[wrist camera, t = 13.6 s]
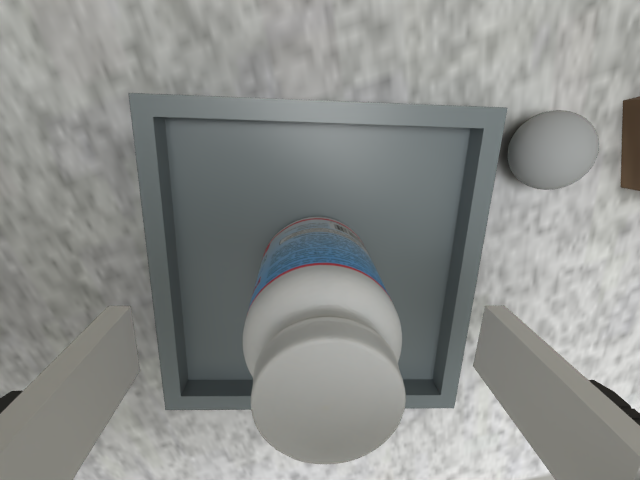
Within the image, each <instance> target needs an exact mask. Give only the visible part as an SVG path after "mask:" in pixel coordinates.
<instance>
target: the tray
mask: <svg viewBox="0 0 640 480" xmlns="http://www.w3.org/2000/svg"><path fill="white" fill-rule="evenodd" d="M129 102H130V110H131V119H132V127H133V136H134V145H135V153H136V162H137V170H138V179H139V187H140V196H141V204H142V213H143V222H144V230H145V239H146V247H147V256H148V264H149V273H150V282H151V290H152V299H153V307H154V316H155V324H156V333H157V342H158V350H159V359H160V367H161V376H162V384H163V393H164V402H165V410H246V409H251V393H252V387H253V377H252V375H251V373H250V372H249V369H248V367H247V364H246V361H245V357H244V353H243V330H244V325H245V320H246V317H247V313H248V309H249V306H250V302H251V297H252V294H253V291H254V288H255V284H256V280H257V277H258V273H259V269H260V266H261V262H262V259H263V256H264V253H265V250H266V248H267V246H268V244H269V242H270V241H271V240H272V238H273V237H274V236H275V235H276V234H277V233H278V232H279V231H280V230H282V229H283V228H284V227H286V226H287V225H289V224H291V223H293V222H295V221H297V220H300V219H303V218H308V217H327V218H331V219H334V220H337V221H339V222H341V223H343V224H345V225H346V226H348V227H349V228H351V229H352V230H353V231H354V232H355V233H356V234H357V235H358V237H359V238H360V239H361V241H362V243H363V245H364V246H365V248H366V250H367V252H368V254H369V256H370V258H371V260H372V262H373V264H374V266H375V268H376V270H377V272H378V274H379V276H380V278H381V280H382V282H383V284H384V286H385V288H386V290H387V292H388V294H389V296H390V298H391V300H392V302H393V305H394V307H395V309H396V312H397V314H398V317H399V320H400V324H401V331H402V347H401V353H400V357H399V361H398V366H399V370H400V373H401V376H402V379H403V383H404V387H405V394H406V402H405V408H454V406H455V400H456V394H457V389H458V383H459V378H460V372H461V366H462V361H463V355H464V349H465V344H466V338H467V333H468V327H469V321H470V316H471V310H472V304H473V299H474V293H475V288H476V282H477V276H478V271H479V265H480V259H481V254H482V248H483V243H484V237H485V231H486V226H487V220H488V214H489V209H490V203H491V198H492V192H493V186H494V181H495V175H496V169H497V164H498V158H499V153H500V147H501V141H502V136H503V130H504V124H505V119H506V113H507V108H503V107H477V106H452V105H426V104H400V103H375V102H349V101H323V100H297V99H272V98H246V97H220V96H194V95H169V94H143V93H129Z"/></svg>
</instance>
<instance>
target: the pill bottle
mask: <svg viewBox="0 0 640 480" xmlns="http://www.w3.org/2000/svg"><path fill="white" fill-rule="evenodd" d="M401 347H402V331H401V324H400V320H399V317H398V314H397V312H396V309H395V307H394V305H393V302H392V300H391V298H390V296H389V294H388V292H387V290H386V288H385V286H384V284H383V282H382V280H381V278H380V276H379V274H378V272H377V270H376V268H375V266H374V264H373V262H372V260H371V258H370V256H369V254H368V252H367V250H366V248H365V246H364V245H363V243H362V241H361V239H360V238H359V237H358V235H357V234H356V233H355V232H354V231H353V230H352V229H351V228H349V227H348V226H346V225H345V224H343V223H341V222H339V221H337V220H334V219H331V218H327V217H308V218H303V219H300V220H297V221H295V222H293V223H291V224H289V225H287V226H286V227H284V228H283V229H282V230H280V231H279V232H278V233H277V234H276V235H275V236H274V237H273V238H272V240H271V241H270V242H269V244H268V246H267V248H266V250H265V253H264V256H263V259H262V262H261V266H260V269H259V273H258V277H257V280H256V284H255V288H254V291H253V294H252V297H251V302H250V306H249V309H248V313H247V317H246V320H245V325H244V330H243V353H244V357H245V361H246V364H247V367H248V369H249V372H250V373H251V375H252V377H253V387H252V393H251V411H252V416H253V419H254V422H255V424H256V427H257V429H258V430H259V432H260V434H261V435H262V436H263V437H264V439H265V440H266V441H267V442H268V443H269V444H270V445H271V446H273V447H274V448H275V449H276V450H278V451H280V452H281V453H283V454H285V455H287V456H289V457H291V458H293V459H296V460H299V461H302V462H307V463H314V464H336V463H343V462H348V461H351V460H355V459H358V458H360V457H362V456H364V455H366V454H368V453H370V452H372V451H374V450H375V449H377V448H378V447H379V446H381V445H382V444H383V443H384V442H385V441H386V440H387V439H388V438H389V437H390V436H391V435H392V434H393V433H394V431H395V430H396V428H397V427H398V425H399V423H400V421H401V418H402V416H403V413H404V409H405V402H406V394H405V387H404V383H403V379H402V376H401V373H400V370H399V366H398V361H399V357H400V353H401Z"/></svg>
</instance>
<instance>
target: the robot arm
mask: <svg viewBox="0 0 640 480" xmlns="http://www.w3.org/2000/svg"><path fill="white" fill-rule="evenodd" d="M473 367H474V368H475V369H476V371H477V372H478V373H479V375H480V376H481V378H482V379H483V380H484V382H485V383H486V385H487V386H488V387H489V389H490V390H491V391H492V393H493V394H494V396H495V397H496V398H497V400H498V401H499V402H500V404H501V405H502V407H503V408H504V409H505V411H506V412H507V414H508V415H509V416H510V418H511V419H512V420H513V422H514V423H515V425H516V426H517V427H518V429H519V430H520V432H521V433H522V434H523V436H524V437H525V438H526V440H527V441H528V443H529V444H530V445H531V447H532V448H533V449H534V451H535V452H536V454H537V455H538V456H539V458H540V459H541V461H542V462H543V463H544V465H545V466H546V467H547V469H548V470H549V472H550V473H551V474H552V476H553V477H554V478H555V480H640V413H638V412H637V411H636V410H635V409H631V406H630V405H629V404H628V403H627V402H625V401H624V400H623V399H622V398H621V397H620V396H618V395H617V394H616V393H615V392H614V391H612V390H610V389H608V388H607V387H605V386H603V385H601V384H600V383H598V382H596V381H595V380H588V379H586V378H585V377H584V376H583V375H582V374H581V373H580V372H579V371H577V370H576V369H575V368H574V367H573V366H572V365H571V364H570V363H568V362H567V361H566V360H565V359H564V358H563V357H562V356H561V355H559V354H558V353H557V352H556V351H555V350H554V349H553V348H552V347H550V346H549V345H548V344H547V343H546V342H545V341H544V340H543V339H541V338H540V337H539V336H538V335H537V334H536V333H535V332H533V331H532V330H531V329H530V328H529V327H528V326H527V325H526V324H524V323H523V322H522V321H521V320H520V319H519V318H518V317H517V316H515V315H514V314H513V313H512V312H511V311H510V310H509V309H508V308H506V307H505V306H485V309H484V314H483V319H482V324H481V329H480V334H479V339H478V344H477V349H476V354H475V359H474V364H473ZM139 372H140V367H139V360H138V353H137V346H136V339H135V332H134V325H133V318H132V311H131V306H108V307H107V308H106V309H105V310H104V311H103V312H102V313H101V314H100V315H99V316H98V317H97V318H96V319H95V320H94V321H93V322H92V323H91V324H90V325H89V326H88V327H87V328H86V329H85V330H84V331H83V332H82V333H81V334H80V335H79V336H78V337H77V338H76V339H75V340H74V341H73V342H72V343H71V344H70V345H69V346H68V347H67V348H66V349H65V350H64V351H63V352H62V353H61V354H60V355H59V356H58V357H57V358H56V359H55V360H54V361H53V362H52V363H51V364H50V365H49V366H48V367H47V368H46V369H45V370H44V371H43V372H42V373H41V374H40V375H39V376H38V377H37V378H36V379H35V380H34V381H33V382H32V383H31V384H30V385H29V386H28V387H27V388H26V389H25V390H24V391H11V392H10V393H8V394H6V395H5V396H3V397H2V398H0V480H73V478H74V477H75V475H76V473H77V472H78V470H79V469H80V467H81V465H82V464H83V462H84V460H85V459H86V457H87V456H88V454H89V452H90V451H91V449H92V448H93V446H94V444H95V443H96V441H97V439H98V438H99V436H100V435H101V433H102V431H103V430H104V428H105V427H106V425H107V423H108V422H109V420H110V418H111V417H112V415H113V414H114V412H115V410H116V409H117V407H118V406H119V404H120V402H121V401H122V399H123V397H124V396H125V394H126V393H127V391H128V389H129V388H130V386H131V385H132V383H133V381H134V380H135V378H136V376H137V375H138V373H139Z"/></svg>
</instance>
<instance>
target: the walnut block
mask: <svg viewBox="0 0 640 480" xmlns="http://www.w3.org/2000/svg"><path fill="white" fill-rule="evenodd" d="M621 187H622V188H628V189H633V190H638V191H640V97H636V98H632V99H628V100H624V101H623V120H622V159H621Z"/></svg>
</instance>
